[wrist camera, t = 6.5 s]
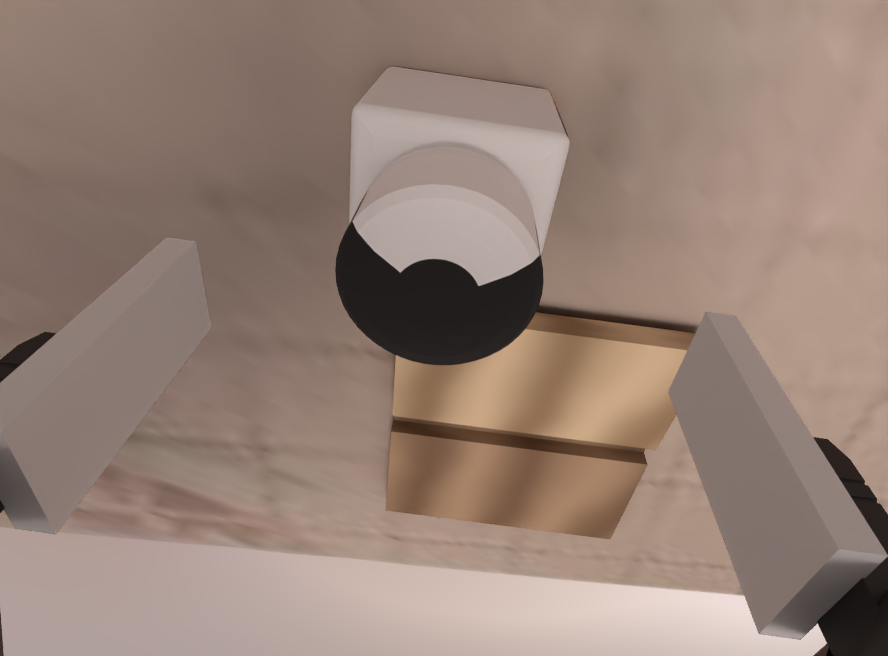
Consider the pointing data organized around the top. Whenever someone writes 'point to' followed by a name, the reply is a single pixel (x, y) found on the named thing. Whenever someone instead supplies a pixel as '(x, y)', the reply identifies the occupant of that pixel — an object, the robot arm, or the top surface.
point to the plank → (556, 383)
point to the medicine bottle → (448, 213)
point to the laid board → (510, 477)
